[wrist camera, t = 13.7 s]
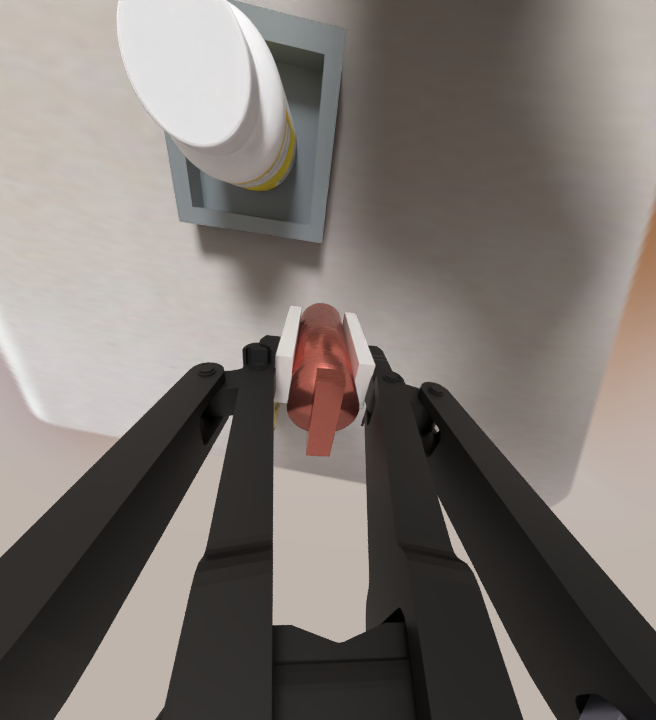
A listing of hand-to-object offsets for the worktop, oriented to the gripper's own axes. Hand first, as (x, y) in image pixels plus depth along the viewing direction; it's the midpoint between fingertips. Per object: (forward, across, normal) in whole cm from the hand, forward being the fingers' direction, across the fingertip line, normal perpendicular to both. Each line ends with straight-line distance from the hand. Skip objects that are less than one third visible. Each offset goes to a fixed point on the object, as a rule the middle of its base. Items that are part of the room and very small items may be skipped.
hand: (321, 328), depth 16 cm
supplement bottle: (+6, -6, +10) cm, 13 cm away
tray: (+7, -6, +10) cm, 13 cm away
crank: (+2, 0, -4) cm, 5 cm away
